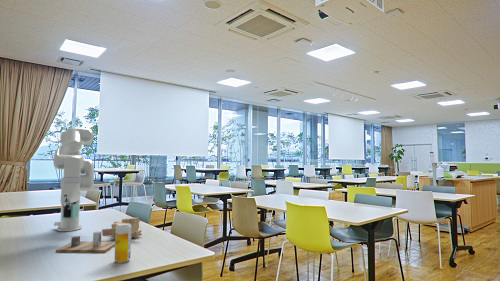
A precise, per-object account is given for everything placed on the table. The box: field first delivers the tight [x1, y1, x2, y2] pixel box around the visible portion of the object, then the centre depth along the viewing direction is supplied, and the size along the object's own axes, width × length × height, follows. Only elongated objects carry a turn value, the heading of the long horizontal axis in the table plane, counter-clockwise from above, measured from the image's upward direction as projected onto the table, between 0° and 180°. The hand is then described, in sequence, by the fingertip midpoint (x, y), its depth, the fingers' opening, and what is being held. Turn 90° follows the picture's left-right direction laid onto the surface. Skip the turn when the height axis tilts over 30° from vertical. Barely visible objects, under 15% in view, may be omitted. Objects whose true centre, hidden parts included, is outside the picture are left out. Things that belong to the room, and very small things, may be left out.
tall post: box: [92, 230, 102, 246], centre depth 147 cm, size 3×3×6 cm
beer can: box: [114, 223, 132, 264], centre depth 129 cm, size 6×6×15 cm
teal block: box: [62, 203, 80, 219], centre depth 159 cm, size 5×5×7 cm
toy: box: [101, 217, 142, 239], centre depth 168 cm, size 10×20×20 cm
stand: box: [55, 235, 115, 254], centre depth 147 cm, size 22×14×5 cm, turn 91°
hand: (70, 215), depth 159 cm, fingers closed on teal block, 5 cm apart
